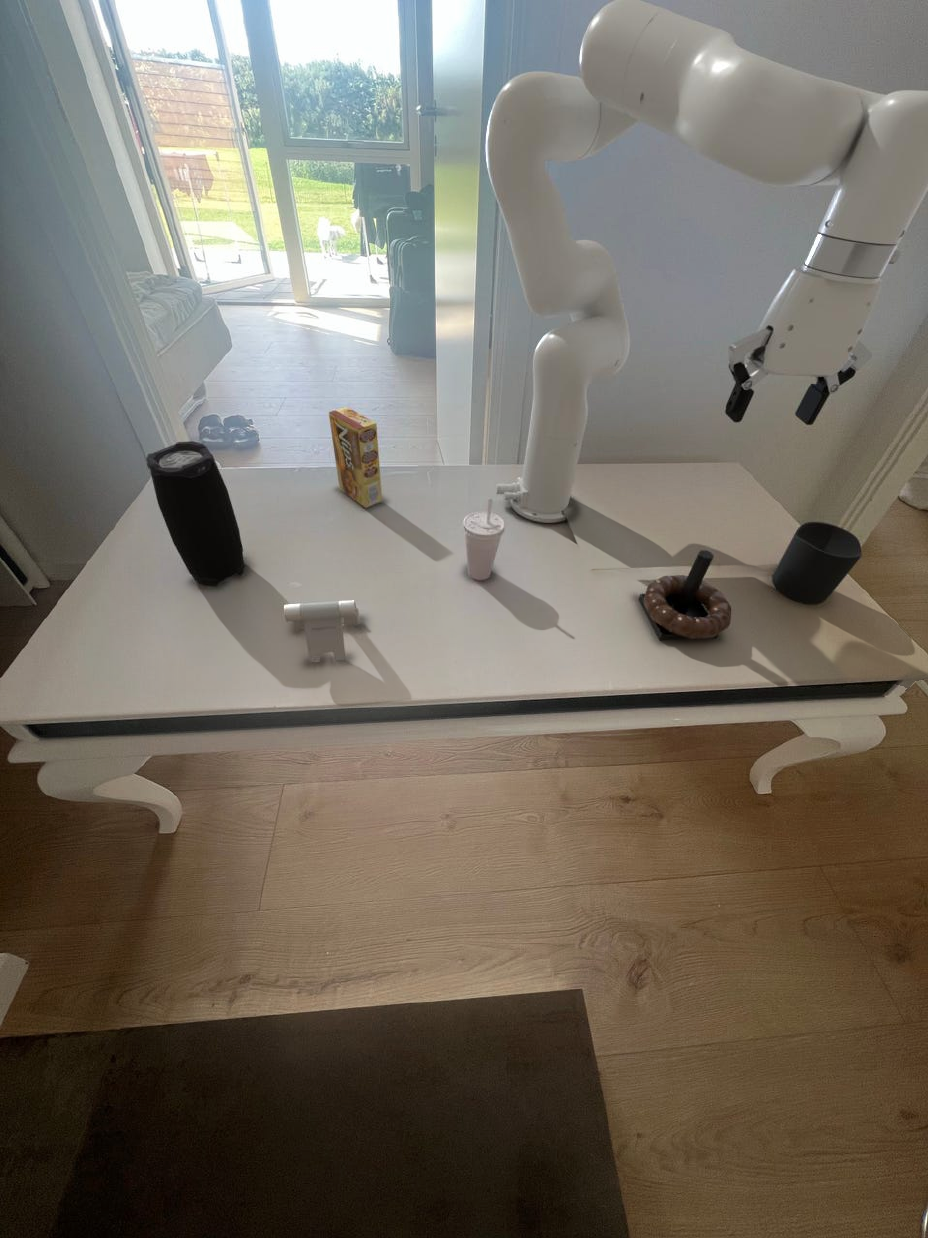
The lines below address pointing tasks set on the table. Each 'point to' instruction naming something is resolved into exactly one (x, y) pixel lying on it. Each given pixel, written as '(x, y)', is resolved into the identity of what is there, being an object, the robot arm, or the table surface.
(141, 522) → the table surface
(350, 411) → the candy box
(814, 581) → the pen holder
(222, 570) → the portable speaker
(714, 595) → the chocolate torus ring
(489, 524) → the smoothie
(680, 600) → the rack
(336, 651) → the tablet stand
